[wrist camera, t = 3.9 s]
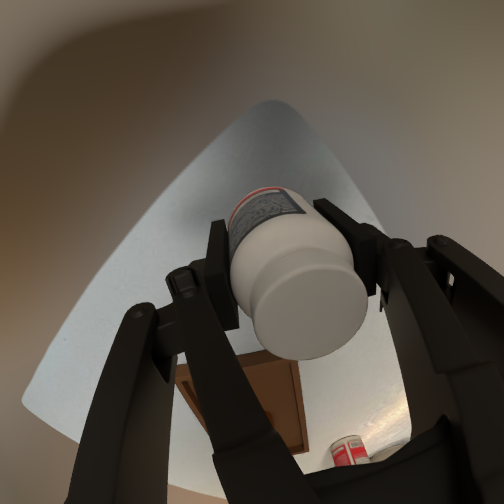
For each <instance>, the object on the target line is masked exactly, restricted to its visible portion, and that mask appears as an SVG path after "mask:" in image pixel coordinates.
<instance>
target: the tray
mask: <svg viewBox="0 0 504 504" xmlns="http://www.w3.org/2000/svg"><path fill="white" fill-rule="evenodd" d="M236 357H237V359H238V361H239V363H240V365H241V367H242V369H243V371H244V373H245V375H246V377H247V379H248V381H249V383H250V385H251V387H252V388H253V390H254V392H255V394H256V396H257V398H258V400H259V402H260V404H261V406H262V408H263V409H264V411H267V412H269V413H271V414H272V416H273V422H274V428H275V430H276V431H278V433H279V434H280V435H281V437H282V439H283V440H284V442H285V444H286V445H287V447H288V449H289V451H290V452H291V454H292V455H296V454H301V453H305V452H309V444H308V436H307V428H306V420H305V412H304V404H303V397H302V389H301V382H300V375H299V368H298V361H297V360H290V359H284V358H281V357H278V356H276V355H274V354H272V353H271V352H269V351H268V350H264V351H259V352H254V353H249V354H244V355H238V356H236ZM175 384H176V386H177V387H178V389H179V391H180V392H181V394H182V396H183V397H184V399H185V400H186V402H187V404H188V405H189V407H190V408H191V410H192V411H193V413H194V414H195V416H196V417H197V419H198V420H199V422H200V423H201V425H202V426H203V428H204V429H205V431H206V432H207V433H208V431H207V428H206V425H205V422H204V419H203V416H202V413H201V409H200V406H199V403H198V399H197V396H196V393H195V389H194V386H193V382H192V378H191V375H190V371H189V367H188V364H182V365H177V368H176V377H175ZM208 435H209V434H208Z"/></svg>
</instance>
